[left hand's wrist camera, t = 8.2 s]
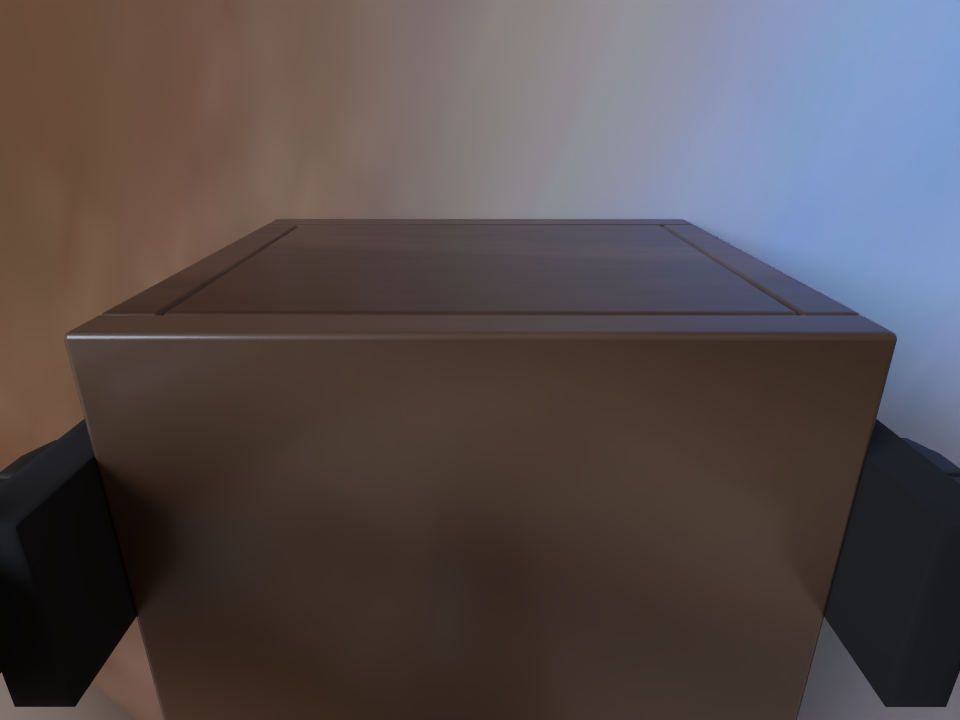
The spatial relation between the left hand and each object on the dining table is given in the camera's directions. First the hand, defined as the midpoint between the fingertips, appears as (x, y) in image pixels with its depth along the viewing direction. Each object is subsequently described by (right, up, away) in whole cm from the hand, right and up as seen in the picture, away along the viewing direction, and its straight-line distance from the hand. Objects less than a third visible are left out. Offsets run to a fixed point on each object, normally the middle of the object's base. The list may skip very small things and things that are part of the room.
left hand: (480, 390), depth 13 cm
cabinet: (0, -5, +6) cm, 8 cm away
